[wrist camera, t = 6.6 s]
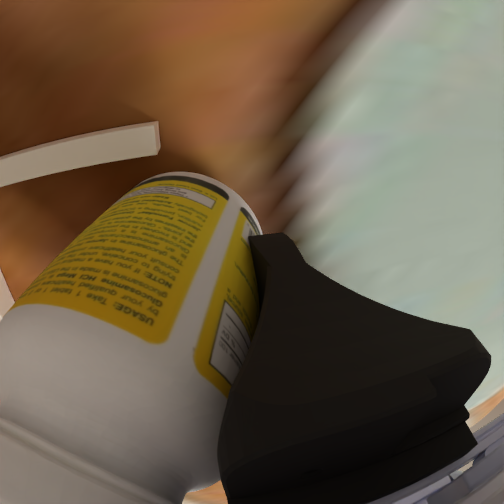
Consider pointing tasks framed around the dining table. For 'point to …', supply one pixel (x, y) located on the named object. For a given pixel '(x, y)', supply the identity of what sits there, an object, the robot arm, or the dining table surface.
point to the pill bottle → (130, 350)
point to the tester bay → (75, 162)
